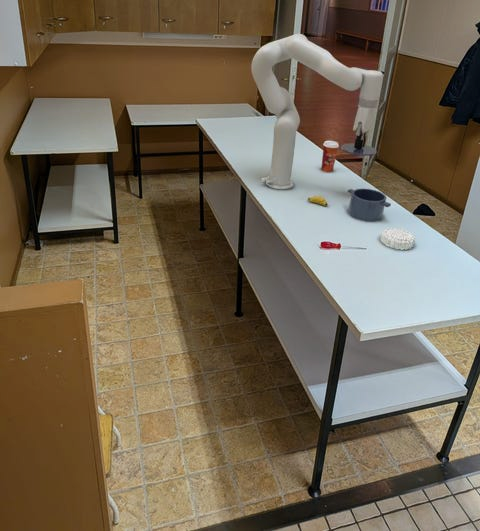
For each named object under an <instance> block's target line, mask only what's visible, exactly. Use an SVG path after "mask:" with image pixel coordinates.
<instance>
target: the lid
mask: <svg viewBox="0 0 480 531" xmlns="http://www.w3.org/2000/svg"><path fill="white" fill-rule="evenodd" d="M363 142H364V137H363ZM354 145H355V142H354V143H353V142H351V143H344V144H342V145H341V147H340V149H341V150H342V151H343V152H345V153H348V154H349V155H355V156H364V157H366V156H374V155H376V154H377V149H376V148H375V147H373V146H371V145H367V144H365V146H364V147H363V145H362V149H356V148H354Z"/></svg>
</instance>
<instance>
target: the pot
mask: <svg viewBox="0 0 480 531" xmlns="http://www.w3.org/2000/svg"><path fill="white" fill-rule="evenodd" d="M347 193H348V194H351V195H350V201H349V206H348V214H349V216H351V217H352V218H354V219H357V220H360V221H363V222H377V221H380V220H382V218H383V215H384V210H385V208H389V207H391V205H392V203H390V202H388V201H387V196H386V194H384V193H383V192H381V191H379V190H376V189H371V188H356V189H353V188H349V189H347Z"/></svg>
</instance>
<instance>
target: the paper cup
mask: <svg viewBox="0 0 480 531" xmlns="http://www.w3.org/2000/svg"><path fill="white" fill-rule="evenodd" d="M322 145H323V150H322V158H321V171H322V172H324V173H333V170H334V167H335V162H336V158H337V154H338V150H339V147H340V145H339V142H337V141H335V140H325V141H324V143H323V144H322Z"/></svg>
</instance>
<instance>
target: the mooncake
mask: <svg viewBox="0 0 480 531" xmlns="http://www.w3.org/2000/svg"><path fill="white" fill-rule="evenodd" d="M379 238H380V239H379V240H380V242H381V243H382V245H385V246H386V247H387V248H391V249H395V250H401V251H403V250H406V251H407V250H410V249H412V248H413V247H414V243H415V240H416V237H415V234H413V233H411V232H410V231H408V230H406V229H404V228H399V227H388V228H384V229H383V230H382V231H381V235H380V237H379Z"/></svg>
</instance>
